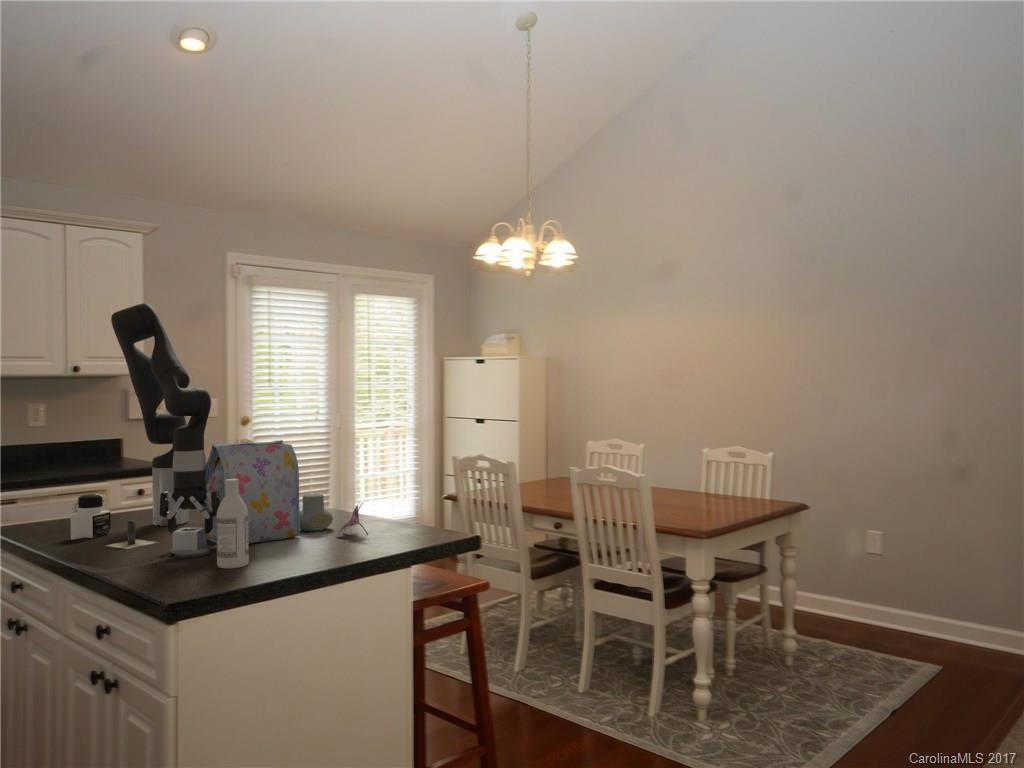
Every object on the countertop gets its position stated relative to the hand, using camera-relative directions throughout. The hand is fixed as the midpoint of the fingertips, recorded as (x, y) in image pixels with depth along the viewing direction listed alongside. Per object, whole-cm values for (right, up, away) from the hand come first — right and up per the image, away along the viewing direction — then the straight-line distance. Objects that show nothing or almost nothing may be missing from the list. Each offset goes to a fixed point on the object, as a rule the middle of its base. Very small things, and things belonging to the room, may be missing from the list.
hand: (190, 533), depth 200 cm
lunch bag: (+10, -5, +17) cm, 20 cm away
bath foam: (+15, -5, -14) cm, 21 cm away
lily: (+36, -5, +22) cm, 42 cm away
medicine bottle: (-36, -6, +22) cm, 42 cm away
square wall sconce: (0, -4, 0) cm, 4 cm away
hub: (0, -5, 0) cm, 5 cm away
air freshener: (+23, -5, +30) cm, 38 cm away
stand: (-18, -5, +8) cm, 21 cm away
